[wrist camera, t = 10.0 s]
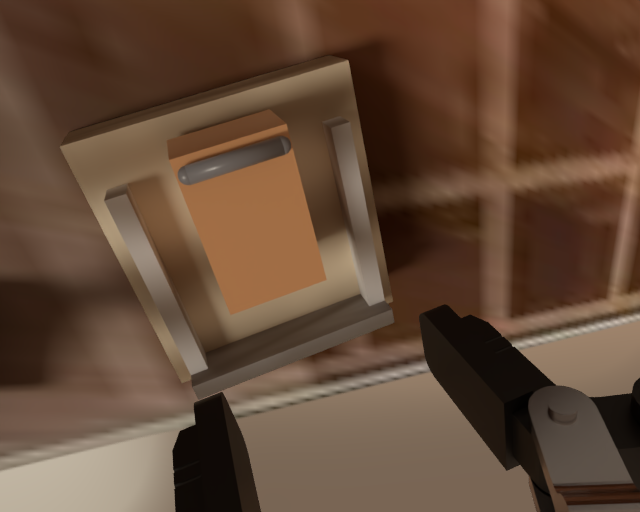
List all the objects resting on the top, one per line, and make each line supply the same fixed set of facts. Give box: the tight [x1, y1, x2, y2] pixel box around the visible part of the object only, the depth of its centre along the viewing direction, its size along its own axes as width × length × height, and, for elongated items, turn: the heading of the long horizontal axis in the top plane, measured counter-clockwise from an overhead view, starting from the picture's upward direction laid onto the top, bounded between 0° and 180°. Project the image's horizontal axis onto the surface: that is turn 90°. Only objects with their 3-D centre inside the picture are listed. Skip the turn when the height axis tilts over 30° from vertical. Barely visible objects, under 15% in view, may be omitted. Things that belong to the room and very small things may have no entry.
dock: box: [60, 55, 394, 399], centre depth 27 cm, size 15×14×6 cm
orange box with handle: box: [167, 109, 327, 315], centre depth 23 cm, size 8×5×5 cm, turn 12°
